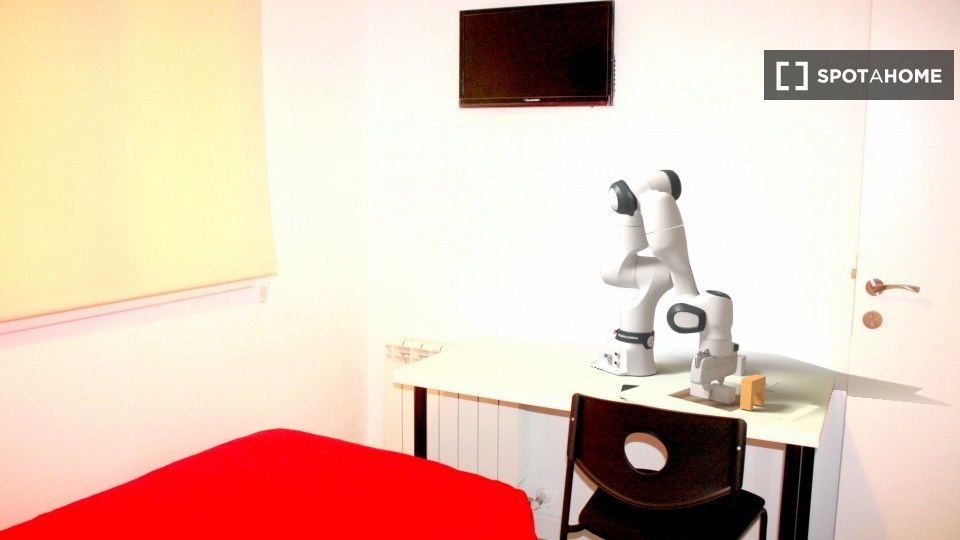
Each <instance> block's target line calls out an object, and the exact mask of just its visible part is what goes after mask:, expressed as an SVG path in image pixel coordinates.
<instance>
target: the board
mask: <svg viewBox="0 0 960 540" xmlns="http://www.w3.org/2000/svg"><path fill="white" fill-rule="evenodd" d="M690 389H691V387H688V388H685V389H682V390H679V391H676V392H673V393H670V394H669V393H668V394H667V396H668V397H671V398H675V399H676V398H677V399H679V400H683V401H687V402H691V403H695V404H698V405H699V404H700V405H703V406H706V407H710V408H714V409H719V410H723V411H726V412H729V413H731V412H734V411H736V410H739V409H741V408H740V398H741V395H738V394H736V397H735V402H732V403H729V404H726V403H722V402H718V401H714V400H710V399H706V398H702V397H698V396H694V395H690Z"/></svg>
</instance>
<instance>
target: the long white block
mask: <svg viewBox="0 0 960 540" xmlns="http://www.w3.org/2000/svg"><path fill="white" fill-rule="evenodd" d="M690 388H691V389H690V395H694V396H698V397H702V398H706V399H710V400H714V401H718V402H722V403H726V404H729V403H732V402H735V397H736V395H737V387H735V386H730V385H726V384H723V385H722V384H718V383H716V382H715V381H712V382H711V385H710V389H711V390H712V395H711V396H709V397H707V396H704V389H703V387H702V385H698V384H694V383H692V382H691V381H690Z"/></svg>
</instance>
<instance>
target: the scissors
mask: <svg viewBox="0 0 960 540" xmlns="http://www.w3.org/2000/svg"><path fill="white" fill-rule="evenodd" d="M778 384H779V382H776V383H775V384H772V385H770V386H769V384H768V383H767V382H765V391H769V392H771V393H776V391H774V390H773V388H774V387H776V386H777V385H778Z"/></svg>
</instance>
